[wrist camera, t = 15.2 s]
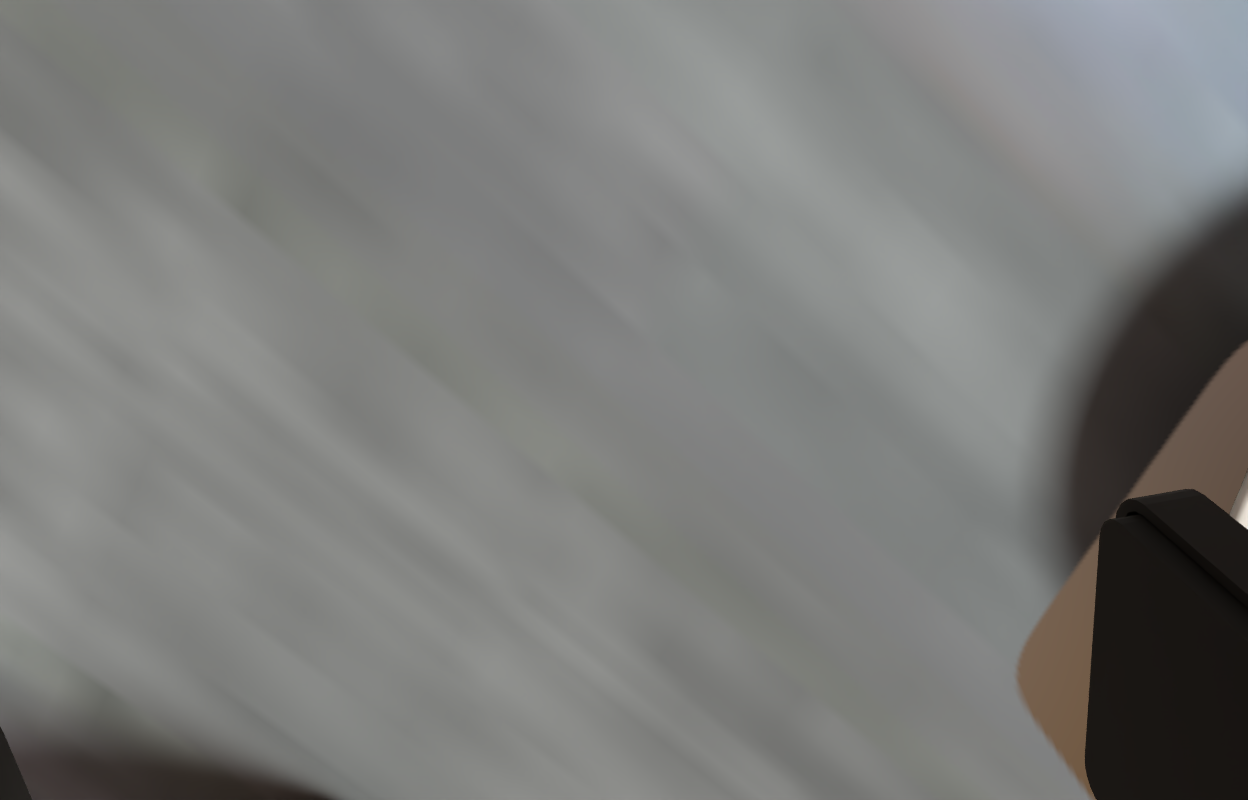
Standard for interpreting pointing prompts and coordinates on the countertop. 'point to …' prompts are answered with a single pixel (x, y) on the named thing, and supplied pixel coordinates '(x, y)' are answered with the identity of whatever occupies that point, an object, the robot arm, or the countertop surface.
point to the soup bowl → (1241, 504)
